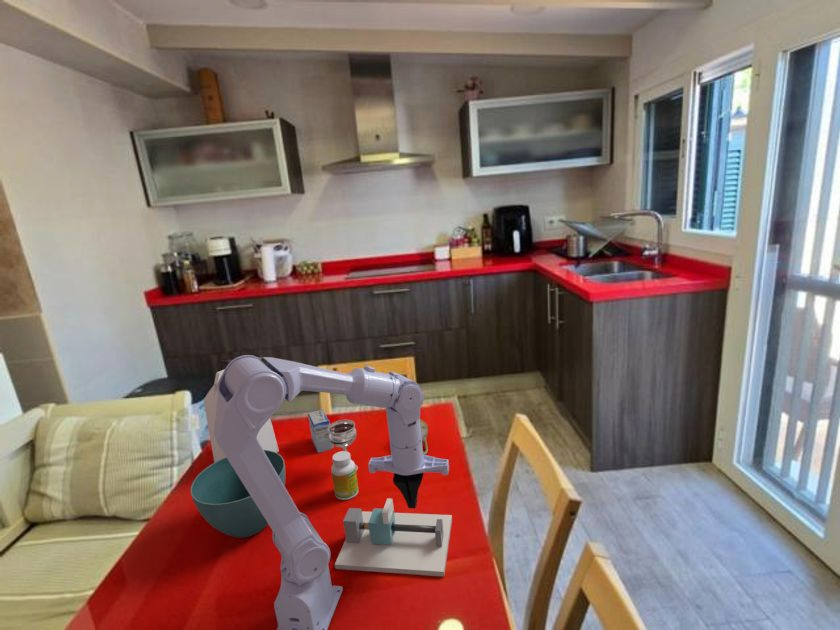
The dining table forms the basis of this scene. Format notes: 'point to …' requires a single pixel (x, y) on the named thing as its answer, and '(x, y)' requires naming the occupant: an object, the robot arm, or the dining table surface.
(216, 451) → the milk
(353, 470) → the supplement bottle
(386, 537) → the slider block
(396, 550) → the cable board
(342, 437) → the wineglass
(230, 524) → the teal bowl
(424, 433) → the mug
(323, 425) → the medicine box
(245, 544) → the dining table surface
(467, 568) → the dining table surface
